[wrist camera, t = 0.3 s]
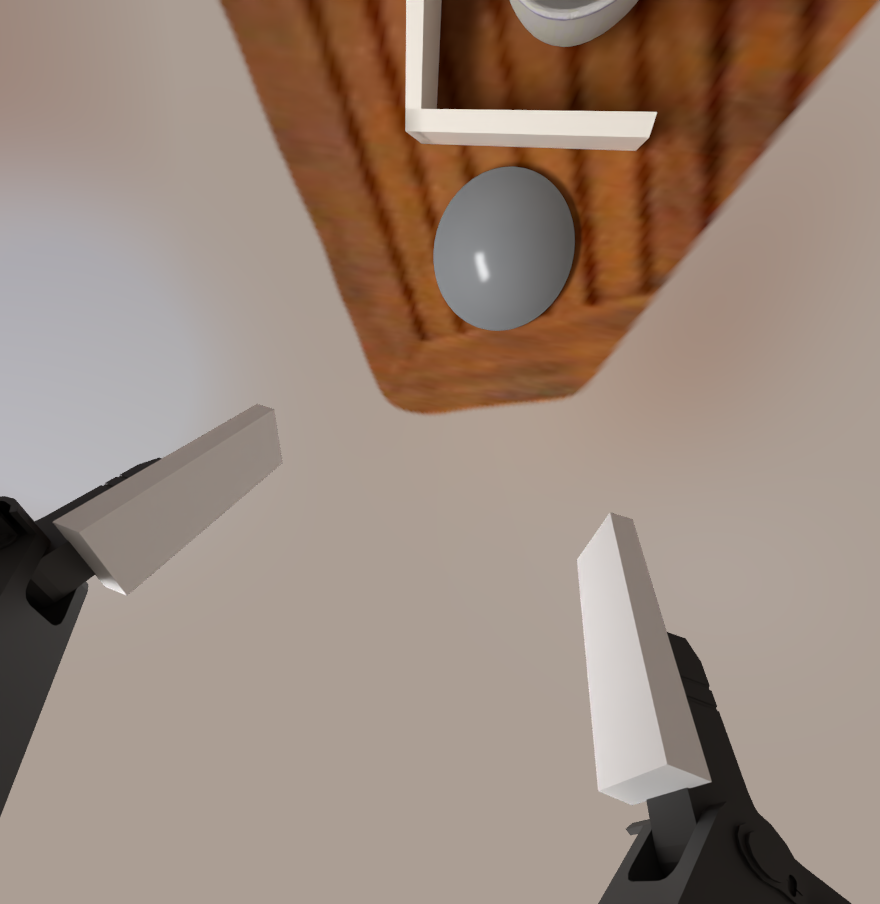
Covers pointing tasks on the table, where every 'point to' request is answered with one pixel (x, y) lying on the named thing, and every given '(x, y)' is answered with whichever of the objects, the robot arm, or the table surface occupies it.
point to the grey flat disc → (504, 248)
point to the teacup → (570, 18)
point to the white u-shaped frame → (500, 124)
